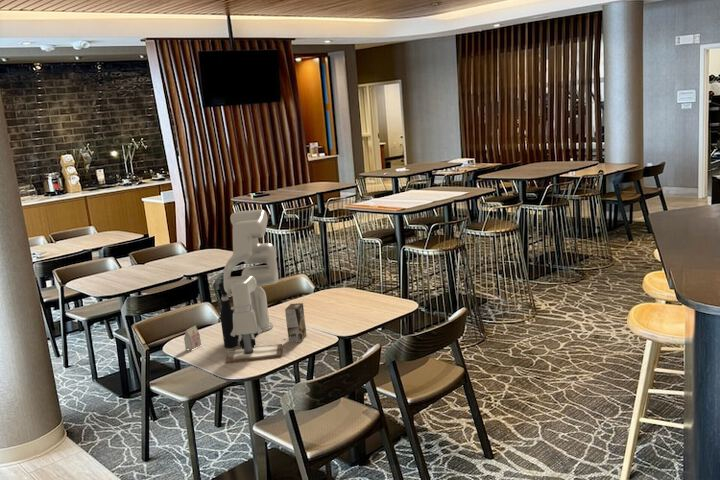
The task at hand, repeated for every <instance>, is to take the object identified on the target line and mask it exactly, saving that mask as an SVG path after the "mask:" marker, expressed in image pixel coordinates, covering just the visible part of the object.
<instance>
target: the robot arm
mask: <svg viewBox="0 0 720 480" xmlns="http://www.w3.org/2000/svg"><path fill="white" fill-rule="evenodd" d="M268 219H269V217H268V215H267V212H266V210H264V209H251V210H241V211H240V210H239V211H235V212H233V213H231V215H230V224H231V225H232V255H231V256H230V257H229V259H228V260H227V262H226V264H225V266H224V268H223V283H224V290H225V292H226V293H227V295H228V294H229V295H232V302H233V306H231V310H233V330H232V332H231V334H230V335H231V336H233V337H235V338H236V339H238V342H239V347H240V348H241V349H244V346H243V339H242V335H245V334H251V337H252V339H251V342H252V348H254V347H256V345H257V344H256V338H257V337H258V335H260V334H261V333H262V332H267V331H269V330H272V329H273V327H274V324H273V322H270V317H269V310H268V309H269V307H268V300H267V294H266V291H265V289H264V288H263V287H262V286H268V285H275V284H276V283H277V282H279V270H278V262H277V255H276V249H275V246H274V244H272V243H269V242H265V243H264V242H263V243H260V241H259V239H260V238H264V236H265V234H266V232H267V227H268V226H267V225H268V222H269V221H268ZM242 262H244V263H245V264H248V265H252V266H247V267H246V268H244V269H243V270H242V271H241V275H240V276H239V275H238V276H232V275H231V274H232V270H233V269H234V268H235V267H236V266H237V265H238V264H240V263H242ZM255 264H265V265H255ZM254 265H255V266H254Z"/></svg>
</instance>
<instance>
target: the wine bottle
mask: <svg viewBox="0 0 720 480" xmlns="http://www.w3.org/2000/svg"><path fill="white" fill-rule="evenodd" d="M218 290H219V292H220V293H221V296H220V297H221V298H220V299H221V301H220V304H221V310H220V318H219V319H220V325H221V331H222V338H223V344H224V348H225V349H234V348H237V347H238V346H239V340H238V339H236V338H235V337H233V336H231V335H230V334H231V332H232V330H233V312H234V310H231V307H232V306H231V304H230V303H231V301H230V298H229V295H228V293H226V292H225V290H224V282H220V283H219V284H218Z"/></svg>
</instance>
